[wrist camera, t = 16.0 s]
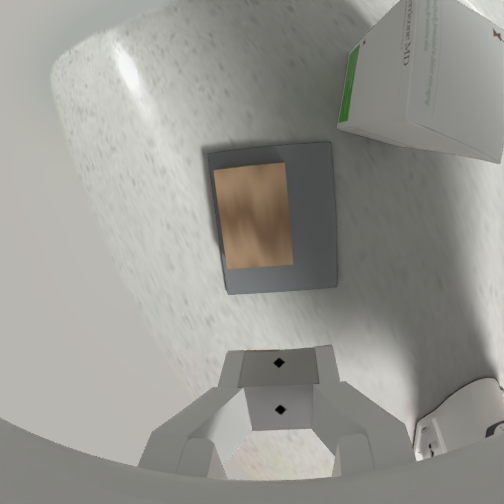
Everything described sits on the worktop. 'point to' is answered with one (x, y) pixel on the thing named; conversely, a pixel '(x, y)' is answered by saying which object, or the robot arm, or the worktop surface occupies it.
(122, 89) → the worktop surface
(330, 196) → the slate mat
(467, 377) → the worktop surface
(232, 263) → the walnut slab
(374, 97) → the skincare box
